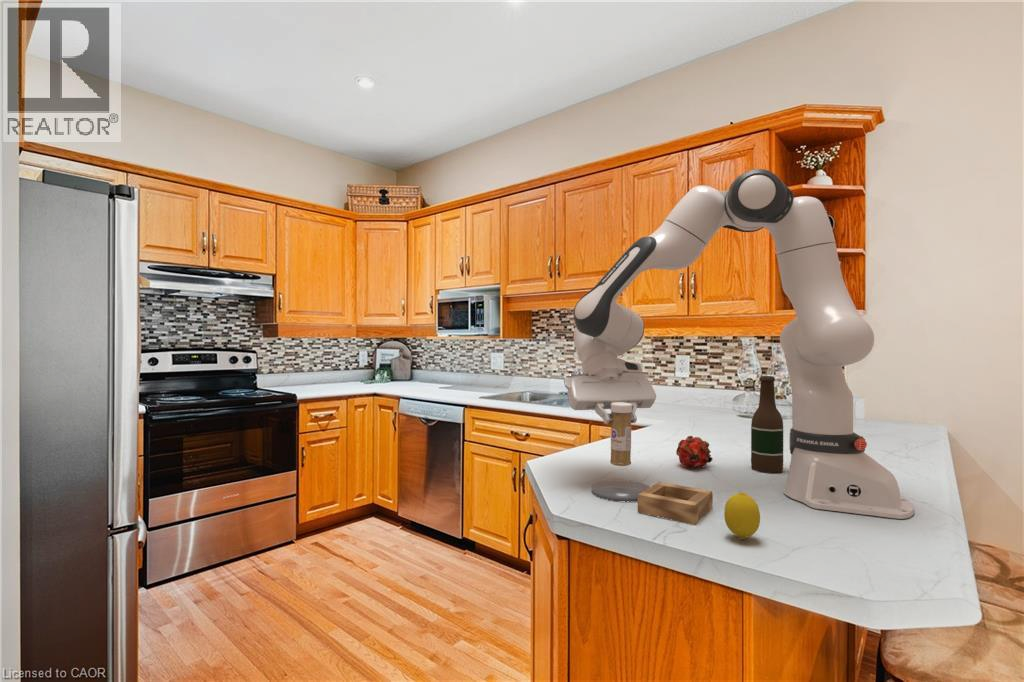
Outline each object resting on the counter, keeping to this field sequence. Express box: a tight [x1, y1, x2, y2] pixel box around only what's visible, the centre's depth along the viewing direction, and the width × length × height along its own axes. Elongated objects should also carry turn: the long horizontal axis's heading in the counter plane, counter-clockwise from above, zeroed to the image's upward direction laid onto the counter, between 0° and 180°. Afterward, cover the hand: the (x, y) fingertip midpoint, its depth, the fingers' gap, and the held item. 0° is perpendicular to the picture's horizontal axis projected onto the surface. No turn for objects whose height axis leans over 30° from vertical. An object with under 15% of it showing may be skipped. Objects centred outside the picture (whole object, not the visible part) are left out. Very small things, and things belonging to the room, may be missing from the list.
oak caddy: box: [637, 481, 714, 525], centre depth 102 cm, size 11×11×4 cm
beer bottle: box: [750, 375, 784, 475], centre depth 132 cm, size 8×8×24 cm
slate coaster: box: [591, 479, 650, 503], centre depth 113 cm, size 13×13×1 cm
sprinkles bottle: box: [609, 402, 632, 467], centre depth 113 cm, size 5×5×14 cm
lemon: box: [723, 491, 761, 540], centre depth 87 cm, size 6×6×8 cm
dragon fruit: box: [675, 435, 713, 470], centre depth 136 cm, size 8×8×12 cm
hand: (621, 422), depth 113 cm, fingers closed on sprinkles bottle, 4 cm apart
